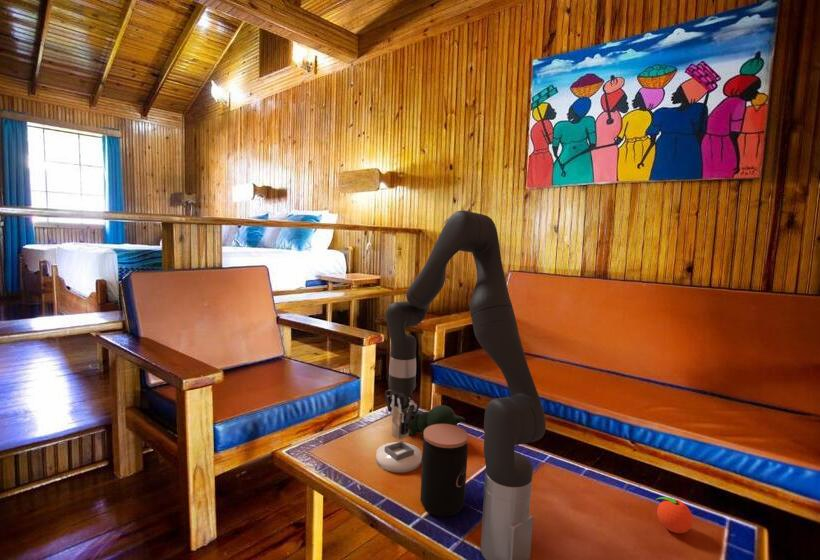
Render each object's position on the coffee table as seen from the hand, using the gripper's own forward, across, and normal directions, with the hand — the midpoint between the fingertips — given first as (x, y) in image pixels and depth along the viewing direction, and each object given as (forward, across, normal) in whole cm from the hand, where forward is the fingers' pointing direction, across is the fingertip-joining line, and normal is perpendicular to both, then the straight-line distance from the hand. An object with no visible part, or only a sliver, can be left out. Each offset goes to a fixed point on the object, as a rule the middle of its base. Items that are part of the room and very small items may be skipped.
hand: (400, 430), depth 123 cm
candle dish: (+9, 0, 0) cm, 9 cm away
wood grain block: (+2, 0, 0) cm, 2 cm away
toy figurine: (+9, +7, -16) cm, 20 cm away
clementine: (+9, -58, -35) cm, 68 cm away
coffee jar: (+9, -22, +3) cm, 24 cm away
